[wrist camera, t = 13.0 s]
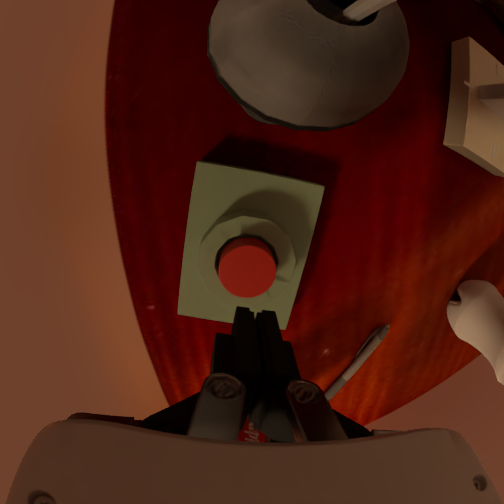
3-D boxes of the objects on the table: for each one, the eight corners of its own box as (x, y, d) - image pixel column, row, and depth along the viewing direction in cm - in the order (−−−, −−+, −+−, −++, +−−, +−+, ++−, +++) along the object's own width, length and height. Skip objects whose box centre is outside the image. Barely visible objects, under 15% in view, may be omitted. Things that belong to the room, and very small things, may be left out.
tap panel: (445, 38, 16) (464, 31, 13) (505, 85, 18) (523, 85, 15) (436, 141, 20) (458, 142, 17) (497, 177, 22) (516, 182, 19)
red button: (224, 232, 19) (223, 240, 17) (278, 241, 19) (282, 250, 17) (216, 281, 20) (214, 293, 18) (266, 289, 20) (269, 301, 19)
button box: (200, 160, 20) (192, 162, 17) (316, 182, 21) (333, 190, 18) (181, 300, 24) (173, 326, 21) (281, 315, 25) (288, 342, 22)
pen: (388, 321, 26) (394, 328, 25) (314, 407, 30) (316, 415, 29) (382, 318, 26) (387, 325, 25) (307, 405, 30) (309, 414, 29)
